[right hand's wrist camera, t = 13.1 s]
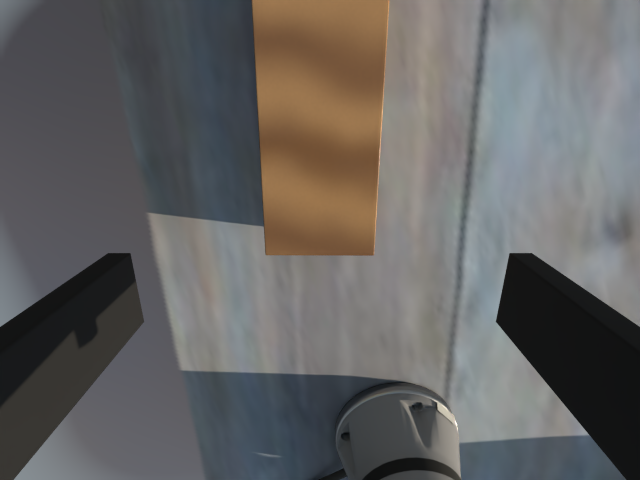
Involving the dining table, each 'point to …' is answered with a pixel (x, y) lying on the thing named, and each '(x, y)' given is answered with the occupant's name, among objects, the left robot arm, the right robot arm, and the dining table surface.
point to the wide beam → (320, 122)
